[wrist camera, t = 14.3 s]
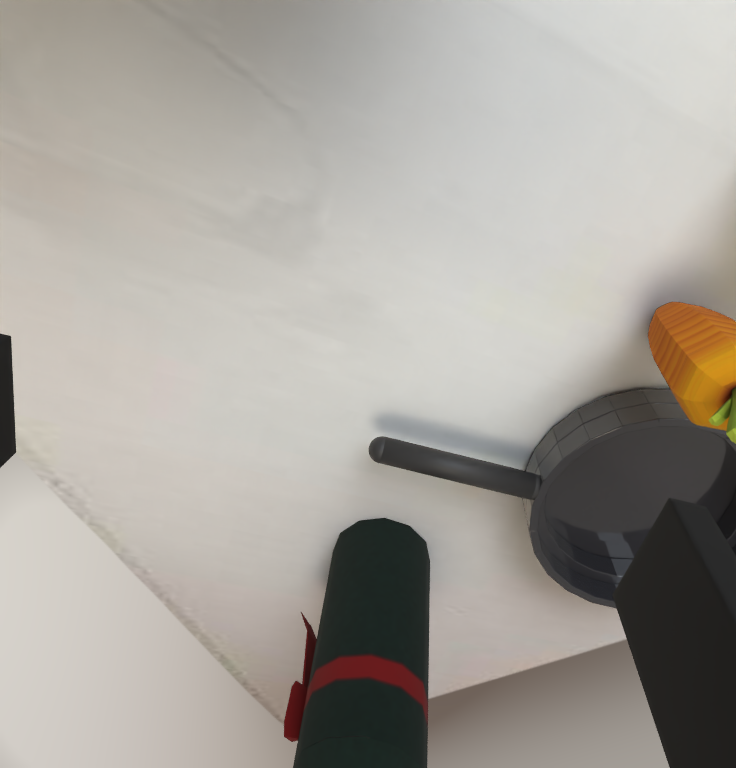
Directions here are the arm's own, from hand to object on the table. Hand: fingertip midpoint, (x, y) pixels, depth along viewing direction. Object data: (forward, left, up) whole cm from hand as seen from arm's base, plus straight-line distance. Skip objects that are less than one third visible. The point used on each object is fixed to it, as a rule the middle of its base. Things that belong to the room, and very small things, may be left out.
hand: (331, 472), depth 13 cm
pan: (+16, +22, -29) cm, 40 cm away
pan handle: (+16, +8, -26) cm, 32 cm away
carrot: (+3, +18, -29) cm, 34 cm away
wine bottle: (+29, +5, -29) cm, 41 cm away
